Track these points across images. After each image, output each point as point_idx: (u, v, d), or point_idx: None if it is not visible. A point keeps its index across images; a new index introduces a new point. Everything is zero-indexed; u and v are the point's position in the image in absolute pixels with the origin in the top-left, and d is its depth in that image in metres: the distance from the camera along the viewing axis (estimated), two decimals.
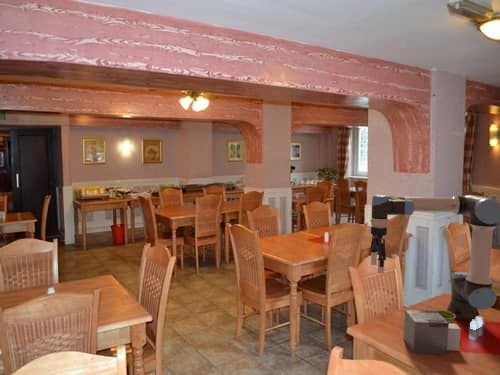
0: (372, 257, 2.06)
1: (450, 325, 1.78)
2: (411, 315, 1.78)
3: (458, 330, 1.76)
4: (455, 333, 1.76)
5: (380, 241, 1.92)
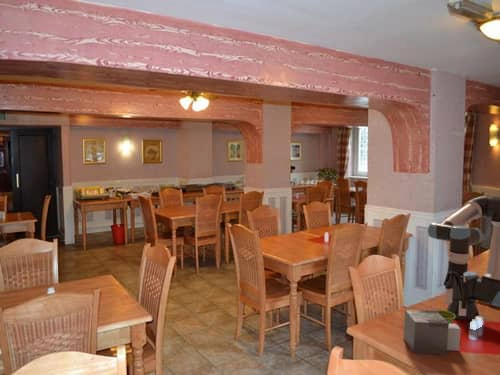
0: (447, 295, 1.83)
1: (450, 325, 1.78)
2: (411, 315, 1.78)
3: (458, 330, 1.76)
4: (455, 333, 1.76)
5: (462, 279, 1.69)
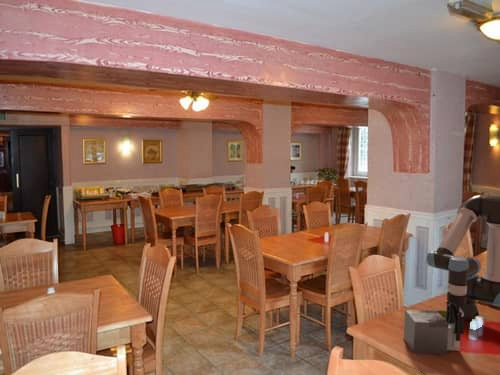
0: None
1: (450, 325, 1.78)
2: (411, 315, 1.78)
3: None
4: None
5: (460, 315, 1.71)
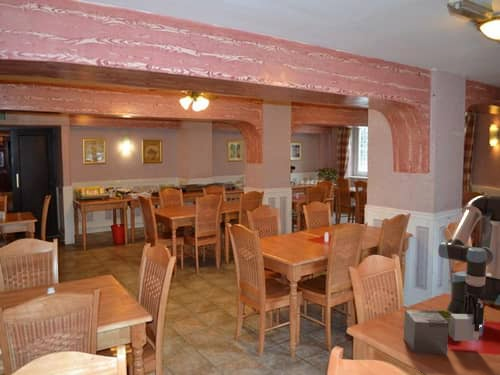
0: None
1: (468, 316, 1.78)
2: (411, 315, 1.78)
3: None
4: None
5: (479, 306, 1.70)
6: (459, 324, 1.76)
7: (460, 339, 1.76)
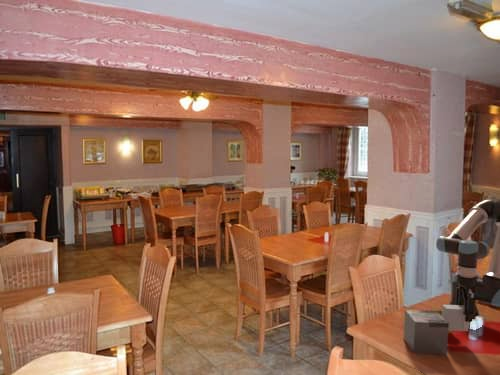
0: None
1: (459, 306, 1.83)
2: (411, 315, 1.78)
3: None
4: None
5: (470, 296, 1.76)
6: (450, 314, 1.81)
7: (451, 329, 1.82)
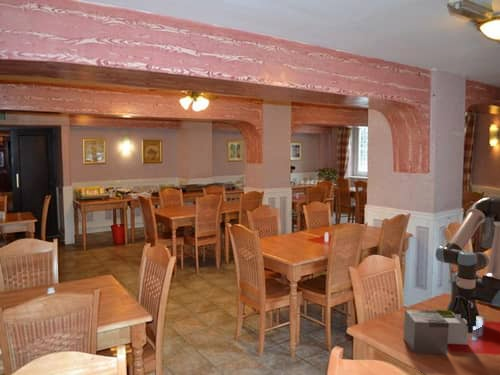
0: None
1: (459, 320, 1.84)
2: (411, 315, 1.78)
3: None
4: (464, 328, 1.81)
5: (470, 305, 1.76)
6: (450, 328, 1.82)
7: (451, 342, 1.82)
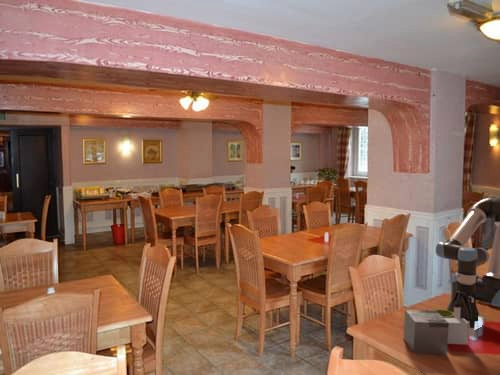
0: (456, 313, 1.90)
1: (459, 320, 1.84)
2: (411, 315, 1.78)
3: (467, 324, 1.81)
4: (464, 328, 1.81)
5: (470, 300, 1.76)
6: (450, 328, 1.82)
7: (451, 342, 1.82)
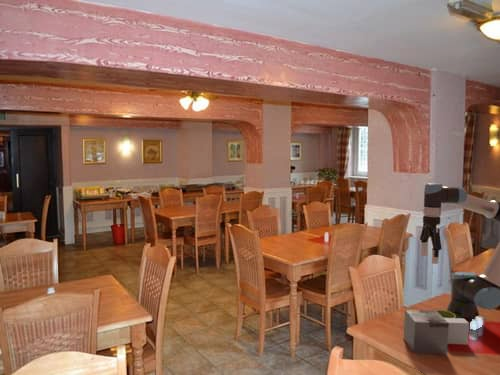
0: (423, 248, 2.00)
1: (459, 320, 1.84)
2: (411, 315, 1.78)
3: (467, 324, 1.81)
4: (464, 328, 1.81)
5: (435, 230, 1.85)
6: (450, 328, 1.82)
7: (451, 342, 1.82)
